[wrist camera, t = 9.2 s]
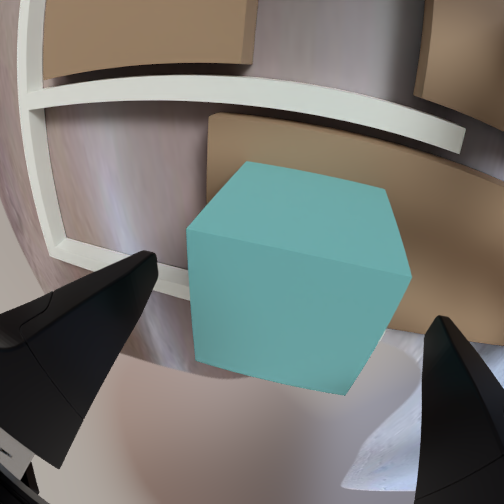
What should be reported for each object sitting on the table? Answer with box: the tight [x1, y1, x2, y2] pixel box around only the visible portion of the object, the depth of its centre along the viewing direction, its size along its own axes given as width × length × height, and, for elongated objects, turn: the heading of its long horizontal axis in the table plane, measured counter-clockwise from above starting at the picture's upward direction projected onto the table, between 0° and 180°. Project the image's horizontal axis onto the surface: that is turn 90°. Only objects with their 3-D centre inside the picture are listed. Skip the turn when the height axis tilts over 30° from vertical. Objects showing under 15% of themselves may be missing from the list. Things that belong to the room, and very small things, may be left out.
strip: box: [206, 112, 504, 346], centre depth 9 cm, size 8×22×6 cm, turn 85°
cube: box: [186, 161, 412, 396], centre depth 10 cm, size 5×5×5 cm
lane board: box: [17, 0, 466, 343], centre depth 10 cm, size 21×21×2 cm
